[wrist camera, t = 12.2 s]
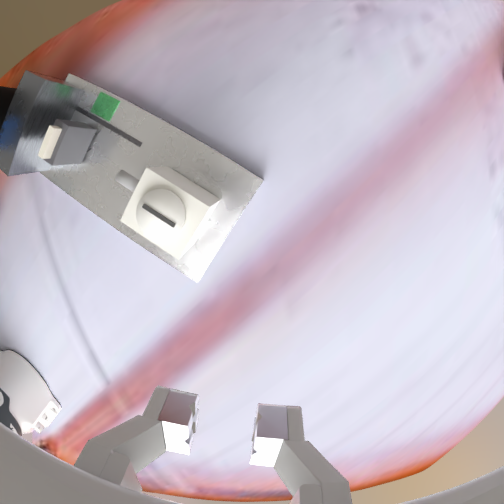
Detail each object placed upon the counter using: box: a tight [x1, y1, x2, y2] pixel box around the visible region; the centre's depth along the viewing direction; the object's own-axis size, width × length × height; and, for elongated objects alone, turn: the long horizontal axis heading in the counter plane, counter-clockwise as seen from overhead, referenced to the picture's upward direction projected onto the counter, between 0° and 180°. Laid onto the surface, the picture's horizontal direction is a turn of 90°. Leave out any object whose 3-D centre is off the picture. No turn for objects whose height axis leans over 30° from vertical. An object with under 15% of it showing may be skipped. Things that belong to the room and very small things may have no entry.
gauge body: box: [115, 166, 221, 260], centre depth 24 cm, size 9×5×6 cm, turn 57°
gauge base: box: [0, 70, 263, 283], centre depth 24 cm, size 26×12×8 cm, turn 57°
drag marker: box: [38, 119, 97, 166], centre depth 22 cm, size 2×4×6 cm, turn 147°
